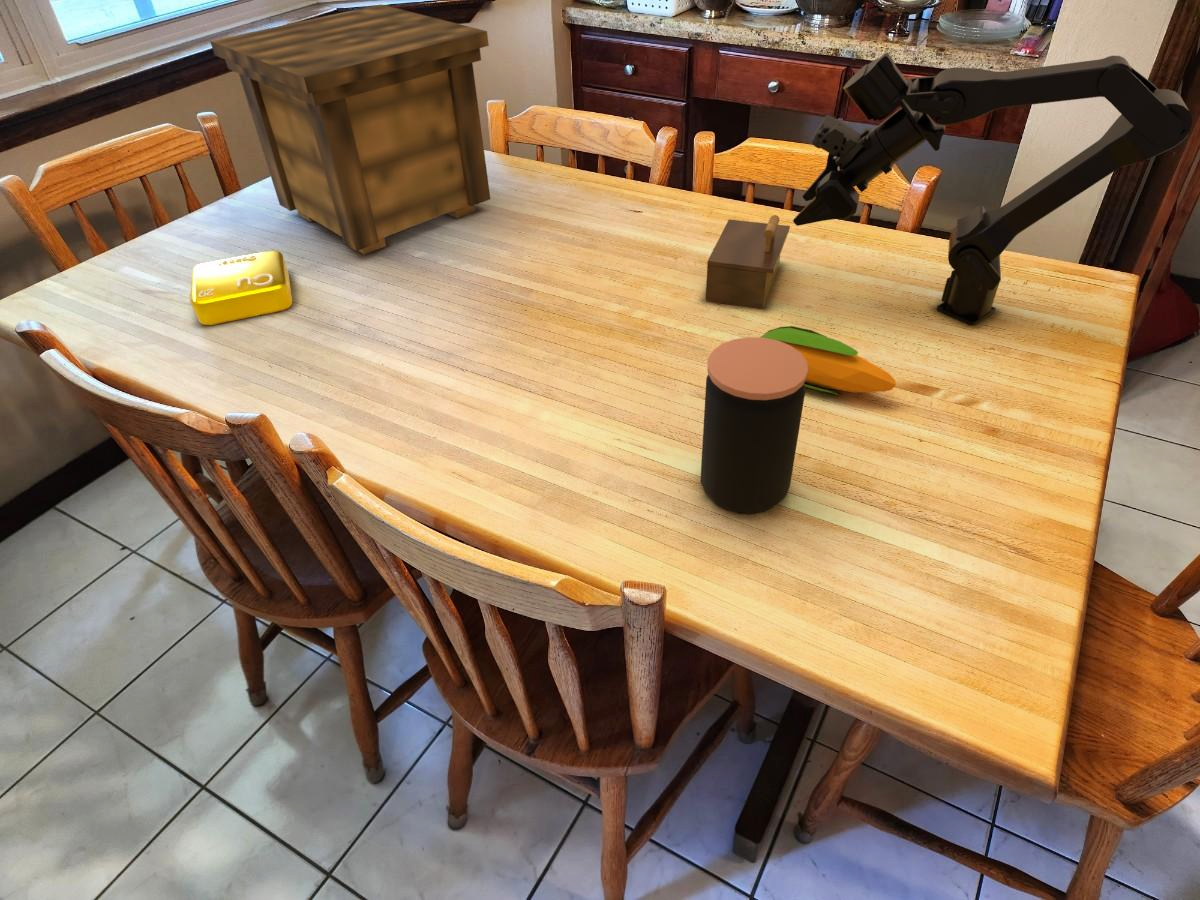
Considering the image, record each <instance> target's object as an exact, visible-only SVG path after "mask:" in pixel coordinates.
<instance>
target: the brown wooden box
mask: <svg viewBox="0 0 1200 900" xmlns="http://www.w3.org/2000/svg"><path fill="white" fill-rule="evenodd" d="M780 260H781V256H780V257H779V259H778V262H777V265H776V267H775V270H774V273H766V272H758V271H750V270H742V269H734V268H726V267H718V266H710V265H707V266H706V282H705V283H706V284H705V302H709V303H710V302H711V303H715V304H724V305H731V306H737V307H746V308H754V309H758V310H759V309H761V310H764V308H765V304H766V302H767V299H768V296H769V293H770V290H771V288H772V285H773V283H774V280H775V278H776V274H777V272H778V269H779V267H780V263H781V261H780Z"/></svg>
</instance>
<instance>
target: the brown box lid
mask: <svg viewBox="0 0 1200 900" xmlns="http://www.w3.org/2000/svg"><path fill="white" fill-rule="evenodd" d="M779 222H780V217H779V216H778V215H776V214H773V215H771V216H770V218H769V220H768V223H766V222H757V221H747V220H738V219H728V220H727V222H726V224H725V225H724V227H723V229H722V232H721V234H720V236H719V238H718V240H717V242H716V243H715V244H714V248H713V250H712V251H711V254H710V255H709V257H708V260H707V262H706V263H707V266H708V265H710V266H718V267H726V268H734V269H742V270H750V271H758V272H766V273H774V270H775V267H776V265H777V262H778V259H779V257H780V258H781V253H782V251H783V248H784V246H785V243H786V241H787V238H788V235H789V233H790V229H791V226H790V225H784V224H779Z"/></svg>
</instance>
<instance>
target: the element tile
mask: <svg viewBox="0 0 1200 900" xmlns="http://www.w3.org/2000/svg"><path fill="white" fill-rule="evenodd" d="M289 273H290V272H289V269H288V267H287V264H286V261H285V258H284V256H283V253H282V252H281V251H279V250H269V251H262V252H258V253H251V254H247V255H241V256H237V257H231V258H226V259H225V258H224V259H219V260H215V261H210V262H204V263H200V264H197V265H195V266H194V268H192V271H191V284H190V298H189V300H190V301H189V302H190V304H191V306H192V308H193V311H194V313H195V315H196V318H197V320H198V322H199V323H200V324H201V325H204V326H213V325H218V324H223V323H227V322H232V321H239V320H244V319H248V318H252V317H257V316H262V315H263V316H264V315H268V314H272V313H277V312H282V311H285V310H288V309H289V308H290V307H291V306H292V305H293V295H292V289H291V281H290V274H289Z"/></svg>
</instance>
